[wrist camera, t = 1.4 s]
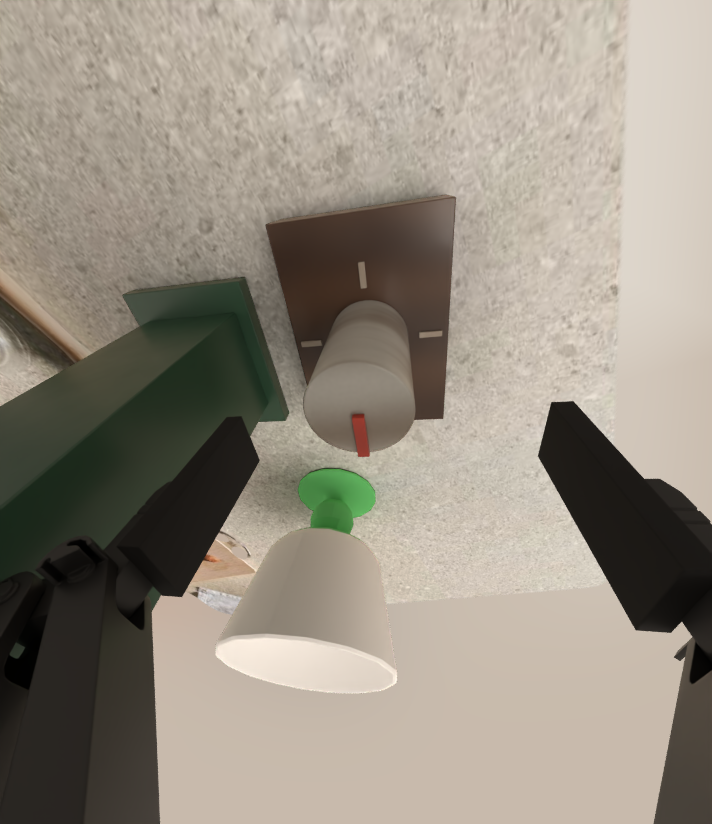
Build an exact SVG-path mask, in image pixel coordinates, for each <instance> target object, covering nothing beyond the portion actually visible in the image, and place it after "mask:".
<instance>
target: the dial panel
mask: <svg viewBox="0 0 712 824" xmlns="http://www.w3.org/2000/svg"><path fill="white" fill-rule="evenodd" d="M455 205H456V197H454V196H450V195H441V196H434V197H427V198H421V199H414V200H407V201H400V202H394V203H387V204H380V205H374V206H367V207H360V208H353V209H347V210H340V211H333V212H326V213H320V214H313V215H306V216H299V217H293V218H286V219H281V220H278V221H275V222H272V223H269V224H266V229H267V233H268V237H269V240H270V244H271V248H272V252H273V256H274V260H275V263H276V267H277V271H278V275H279V279H280V283H281V286H282V290H283V294H284V298H285V302H286V305H287V309H288V313H289V317H290V321H291V325H292V328H293V332H294V336H295V340H296V344H297V347H298V351H299V355H300V359H301V363H302V367H303V370H304V374H305V378H306V382H307V386H308V384H309V381H310V379H311V376H312V374H313V372H314V369H315V367H316V364H317V362H318V360H319V357H320V355H321V352H322V350H323V348H324V345H325V343H326V341H327V338H328V336H329V333H330V331H331V329H332V326H333V324H334V322H335V320H336V318H337V316H338V315H339V314H340V313H341V311H343V310H344V309H345V308H346V307H348V306H349V305H351V304H353V303H356V302H359V301H364V300H373V301H379V302H382V303H385V304H387V305H389V306H391V307H392V308H394V309H395V310H396V311H397V312H398V313H399V314H400V315H401V317H402V318H403V320H404V322H405V324H406V326H407V330H408V339H409V349H410V359H411V369H412V379H413V389H414V399H415V417H414V420H423V419H443V414H444V397H445V379H446V362H447V345H448V327H449V310H450V292H451V275H452V257H453V240H454V222H455Z"/></svg>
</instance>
